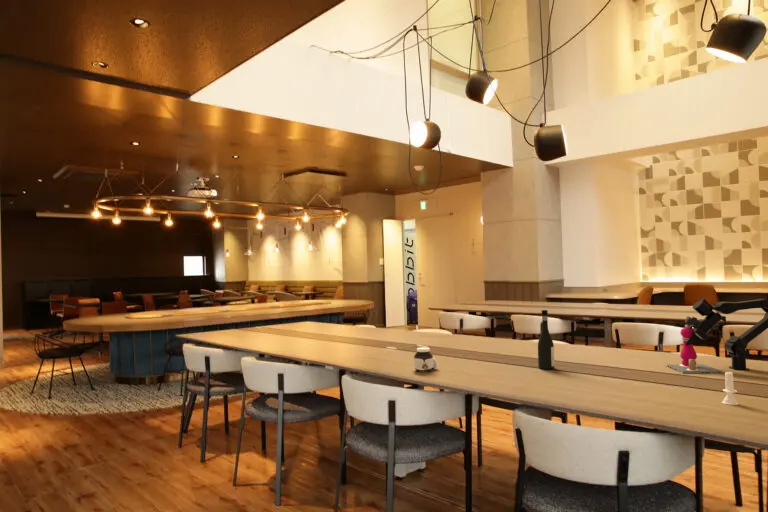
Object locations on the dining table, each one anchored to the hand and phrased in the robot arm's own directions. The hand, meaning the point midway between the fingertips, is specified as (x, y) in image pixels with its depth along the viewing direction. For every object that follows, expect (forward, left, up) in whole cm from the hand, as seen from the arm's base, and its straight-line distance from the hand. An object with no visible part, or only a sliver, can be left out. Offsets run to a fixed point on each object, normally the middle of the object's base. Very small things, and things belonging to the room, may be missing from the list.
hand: (685, 344), depth 266 cm
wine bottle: (+3, +68, -12) cm, 69 cm away
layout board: (-5, -1, -12) cm, 13 cm away
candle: (-68, +16, -12) cm, 71 cm away
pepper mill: (0, -1, -10) cm, 10 cm away
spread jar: (+2, +130, -12) cm, 130 cm away
